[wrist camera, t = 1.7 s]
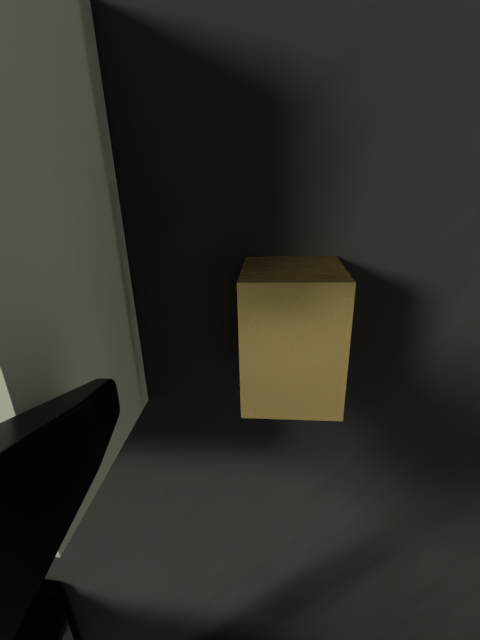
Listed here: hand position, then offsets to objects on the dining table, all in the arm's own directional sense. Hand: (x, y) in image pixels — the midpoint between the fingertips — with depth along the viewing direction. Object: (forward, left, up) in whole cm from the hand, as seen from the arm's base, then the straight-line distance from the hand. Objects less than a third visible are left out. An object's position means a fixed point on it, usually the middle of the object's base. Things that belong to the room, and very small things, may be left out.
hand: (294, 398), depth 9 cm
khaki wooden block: (0, 0, -6) cm, 6 cm away
